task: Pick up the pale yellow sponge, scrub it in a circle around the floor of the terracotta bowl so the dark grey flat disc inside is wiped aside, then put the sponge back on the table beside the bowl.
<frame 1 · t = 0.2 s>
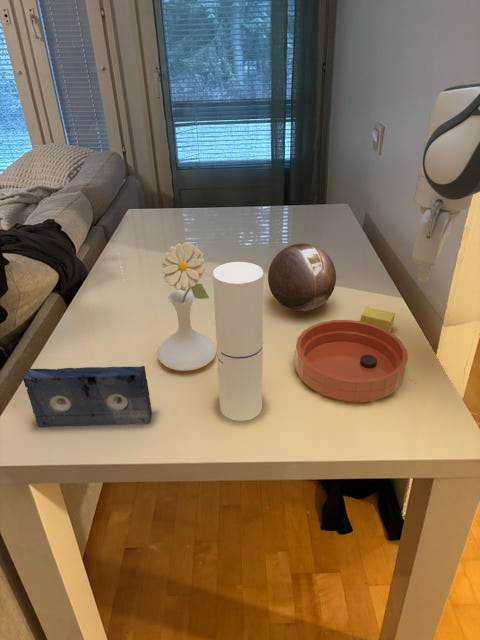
hand: (427, 269, 84), 17 cm above the table, tool pointing down, fingers open, 8 cm apart
sponge: (375, 330, 98), on the table
cylindrical container: (241, 406, 79), on the table
bowl: (348, 369, 87), on the table
dark grey flat disc: (368, 363, 87), point 1 cm above the table, touching bowl
flower in vase: (190, 361, 91), on the table
vhs cassette tape: (96, 420, 77), on the table
wooden sphere: (300, 307, 108), on the table
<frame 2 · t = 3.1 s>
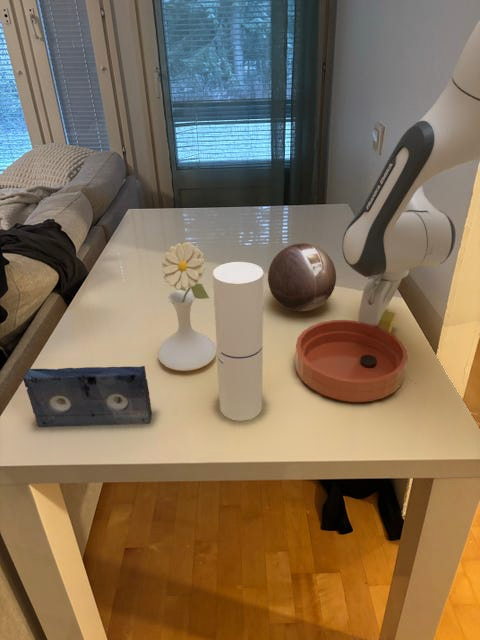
hand: (376, 323, 98), 2 cm above the table, tool pointing down, fingers closed on sponge, 4 cm apart
sponge: (375, 330, 98), on the table, touching gripper
everything else where it was.
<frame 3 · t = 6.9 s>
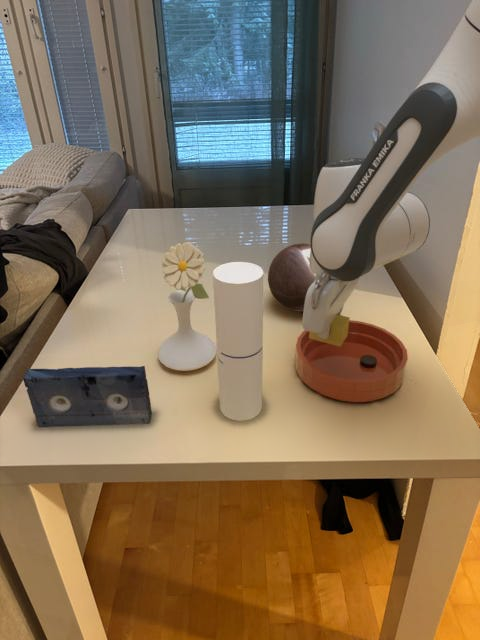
hand: (329, 329, 85), 8 cm above the table, tool pointing down, fingers closed on sponge, 4 cm apart
sponge: (328, 337, 85), point 6 cm above the table, touching gripper
everything else where it was.
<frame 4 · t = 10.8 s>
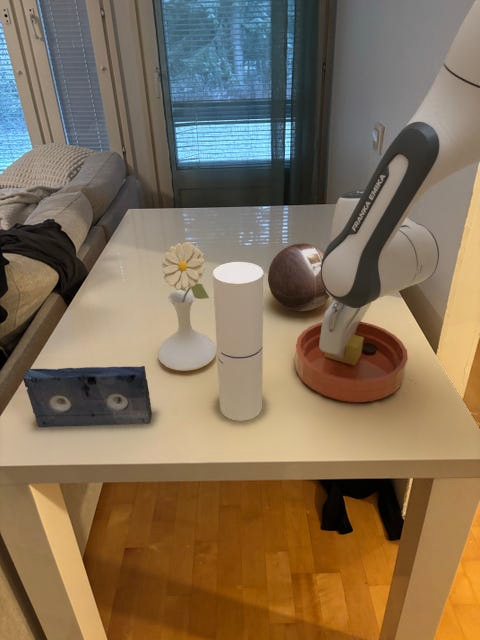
hand: (344, 348, 88), 3 cm above the table, tool pointing down, fingers closed on sponge, 4 cm apart
sponge: (342, 355, 89), point 1 cm above the table, touching gripper
dark grey flat disc: (368, 351, 91), point 1 cm above the table, touching bowl
everything else where it was.
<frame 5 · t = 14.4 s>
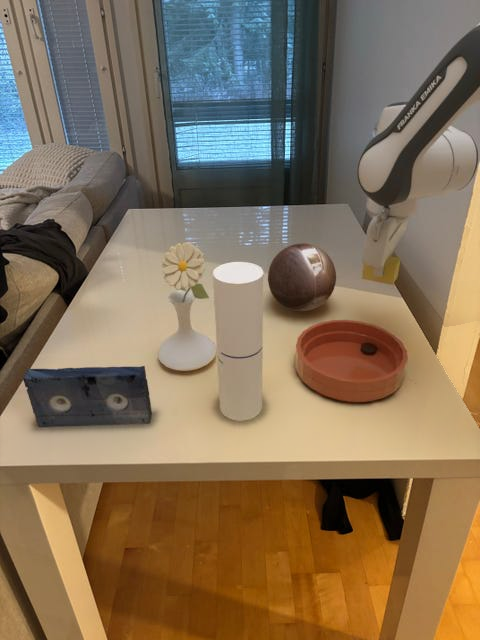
hand: (381, 270, 90), 14 cm above the table, tool pointing down, fingers closed on sponge, 4 cm apart
sponge: (379, 277, 91), point 13 cm above the table, touching gripper
everything else where it was.
when the fingers open (1 cm above the table, at t = 17.6 s): sponge stays where it is, on the table.
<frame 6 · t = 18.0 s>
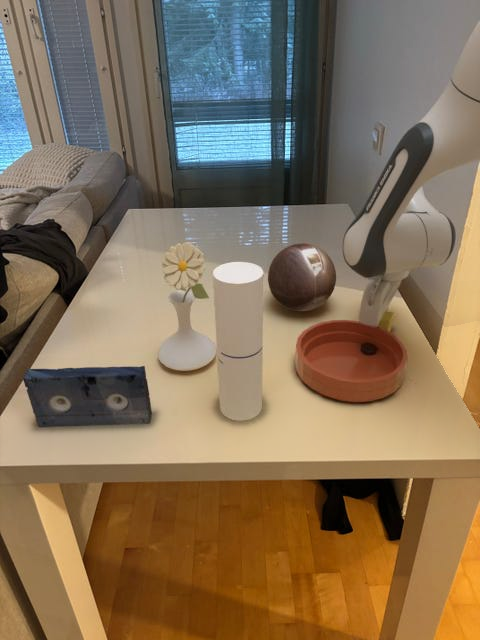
hand: (377, 323, 98), 2 cm above the table, tool pointing down, fingers open, 8 cm apart
sponge: (374, 329, 98), on the table
everything else where it was.
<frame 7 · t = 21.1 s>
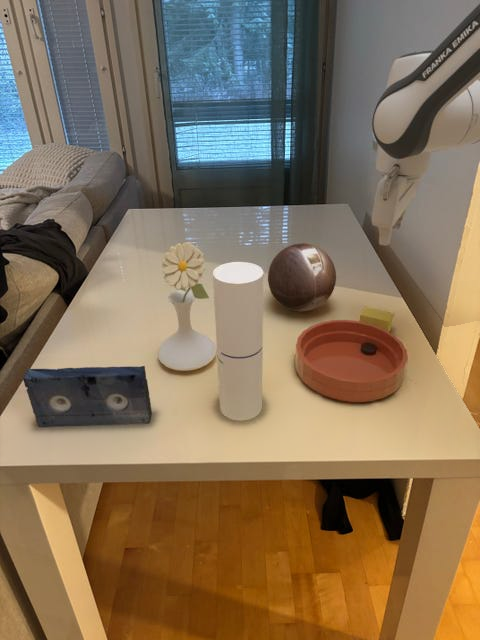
hand: (390, 235, 88), 21 cm above the table, tool pointing down, fingers open, 8 cm apart
nothing on the table moved.
at the end: dark grey flat disc moved 4.1 cm from its start; sponge inside the target area (0.3 cm from its centre), on the table; the gripper is holding nothing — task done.
